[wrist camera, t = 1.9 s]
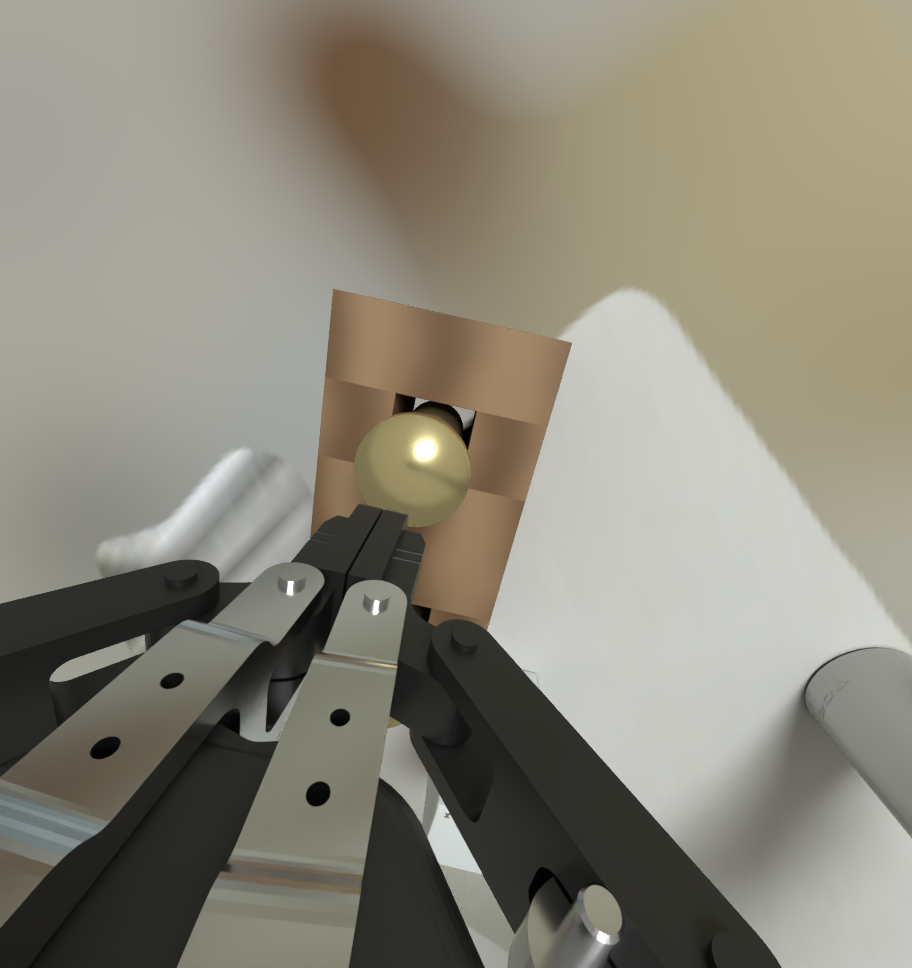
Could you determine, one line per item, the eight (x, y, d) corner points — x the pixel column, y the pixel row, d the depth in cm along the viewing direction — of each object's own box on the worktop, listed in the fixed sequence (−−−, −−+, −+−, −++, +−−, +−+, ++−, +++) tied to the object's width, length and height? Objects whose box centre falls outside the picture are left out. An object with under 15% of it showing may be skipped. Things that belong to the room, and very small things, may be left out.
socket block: (550, 337, 28) (571, 343, 21) (466, 639, 38) (461, 717, 30) (375, 298, 28) (333, 289, 21) (335, 609, 38) (297, 680, 30)
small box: (437, 700, 41) (414, 861, 28) (453, 650, 38) (436, 802, 26) (518, 720, 41) (530, 890, 29) (539, 672, 38) (561, 834, 26)
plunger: (484, 397, 25) (481, 431, 17) (466, 474, 27) (456, 537, 19) (402, 378, 25) (361, 404, 17) (389, 457, 27) (347, 513, 19)
